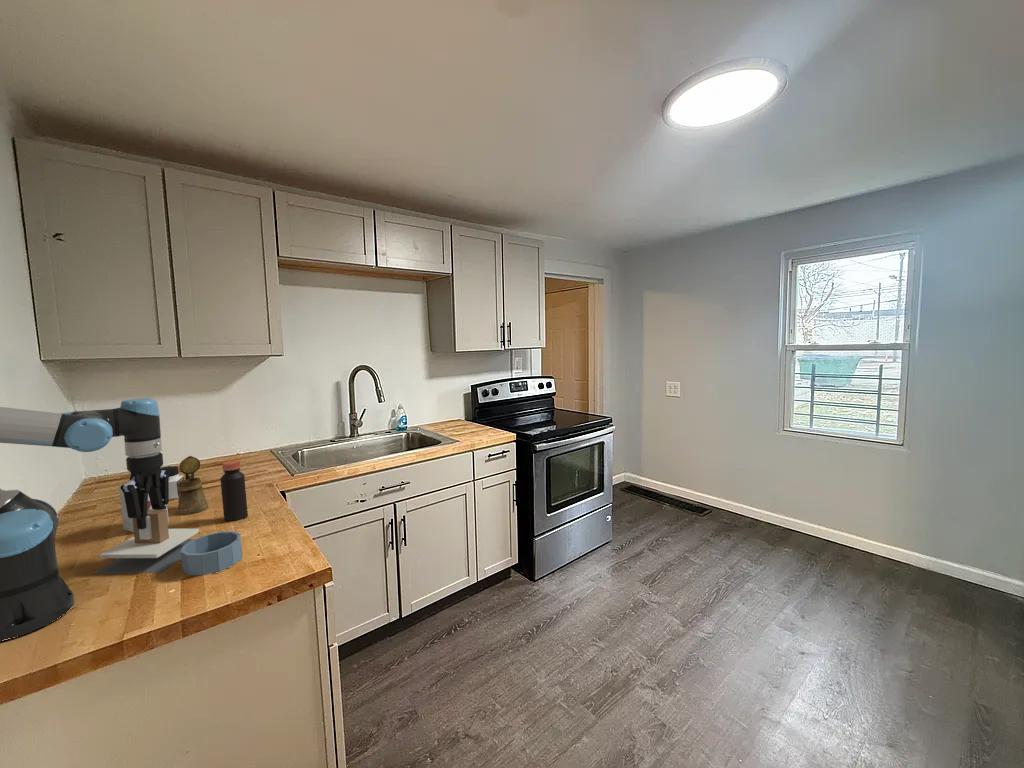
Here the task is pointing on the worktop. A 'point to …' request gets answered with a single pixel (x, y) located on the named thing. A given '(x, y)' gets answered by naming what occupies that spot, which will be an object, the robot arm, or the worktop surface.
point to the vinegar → (233, 492)
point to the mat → (145, 562)
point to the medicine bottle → (173, 481)
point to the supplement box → (127, 521)
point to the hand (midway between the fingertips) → (151, 535)
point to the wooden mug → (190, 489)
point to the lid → (152, 547)
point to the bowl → (211, 553)
